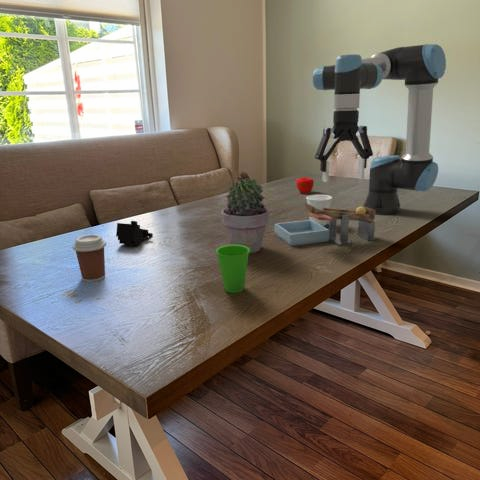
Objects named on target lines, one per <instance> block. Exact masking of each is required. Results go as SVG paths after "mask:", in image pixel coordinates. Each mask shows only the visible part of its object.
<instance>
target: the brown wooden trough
mask: <svg viewBox="0 0 480 480" xmlns="http://www.w3.org/2000/svg"><path fill="white" fill-rule="evenodd" d="M363 207H364V206H363ZM364 208H365V209H366V214H360V213H356V209H355V210H354V209H353V210H352V209H344V208H343V209H342V208H332V207H330V208H323V210H320V209H316V208H315V207H313V206H311V205H309V204H307V202H305V203H304V208H303V214H304V215H306V216H308V217H309V218H310V217H314V218H316V219H317V220H327V222H329V221H332V219H337V220H341V215H346V214H348V215H349V221H355V222H359V221H367V222H373V221H374V220H375V215H376V214H375V212H376V211H375V210H373V209H370V208H368V207H364ZM374 222H375V221H374Z"/></svg>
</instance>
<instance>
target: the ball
mask: <svg viewBox="0 0 480 480" xmlns="http://www.w3.org/2000/svg"><path fill="white" fill-rule="evenodd" d="M355 210H356V213H360V214H366V209H365V208H364V206H358V207H357V208H356V209H355Z"/></svg>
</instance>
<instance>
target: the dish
mask: <svg viewBox="0 0 480 480" xmlns="http://www.w3.org/2000/svg"><path fill="white" fill-rule="evenodd" d="M274 235H276V237H277V238H279V239H281V241H283V242H284V243H285V244H287V245H288V246H290V247H294V246H302V245H310V244H317V243H325V242H330V241H329V228H326V227H325V226H321V225H320V224H318V223H316V222H314V221H312V220H310V219H305V220H296V221H287V222H286V221H285V222H278V223H274Z"/></svg>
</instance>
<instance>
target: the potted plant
mask: <svg viewBox="0 0 480 480" xmlns="http://www.w3.org/2000/svg"><path fill="white" fill-rule="evenodd" d="M238 175H239V177H237V181H236V182H235V183H233V184H231V185H230V186H228V187H226V189H227V188H228V190H227V191H226V190H225V191H223V192H228V193H229V194H226V195H225V196H224V198H227V199H225V200H224V201H225V202H224V203H223V205H224V204H225V203H226V206H227V207H224V208H223V209H222V210H221V219H222V224H223V225H224V227H225V230H226V233H227V237H228V240H229V245H243V246H247V247H249V248H250V252H249V255H250V254H255V253H257V252H259V251H260V250H261V249H262V244H263V241H264V236H265V233H266V232H265V231H266V227H267V225H268V224H269V219H270V218H269V217H270V210H269V208H268V207H266V206H265V204H264V201H263V200H264V199H265V200H267V201H271V202H272V203H274V201H272V200H269V199H268V198H266V197H265V196H263V195H262V194H261V193H264V194H265V195H267V193H266V192H264V191H263V189H264V188H263V187H262V184H257V180H256V179H255V178H253V179H251V178H250V177H249V175H248V173H246V172H245V171H241V172H239V174H238ZM221 198H223V197H221Z"/></svg>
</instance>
